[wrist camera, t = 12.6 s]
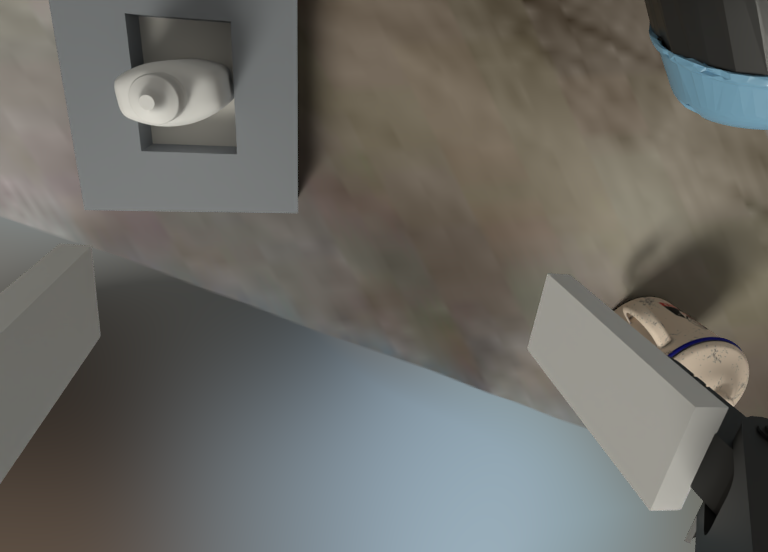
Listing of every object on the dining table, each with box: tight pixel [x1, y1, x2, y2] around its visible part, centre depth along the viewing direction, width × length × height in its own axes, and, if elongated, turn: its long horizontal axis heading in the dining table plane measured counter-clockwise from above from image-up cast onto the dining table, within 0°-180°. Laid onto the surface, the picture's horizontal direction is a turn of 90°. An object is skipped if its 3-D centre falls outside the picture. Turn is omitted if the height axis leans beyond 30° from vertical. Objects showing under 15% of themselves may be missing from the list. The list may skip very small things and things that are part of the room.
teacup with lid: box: [614, 297, 749, 407], centre depth 45 cm, size 12×9×12 cm
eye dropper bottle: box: [114, 58, 234, 127], centre depth 30 cm, size 4×6×12 cm
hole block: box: [49, 0, 298, 213], centre depth 34 cm, size 16×14×4 cm
